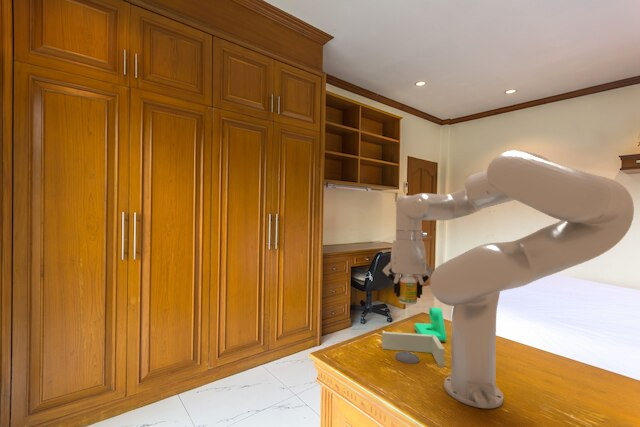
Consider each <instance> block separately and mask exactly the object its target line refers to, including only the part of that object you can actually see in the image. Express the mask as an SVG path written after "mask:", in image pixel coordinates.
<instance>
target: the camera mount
mask: <svg viewBox="0 0 640 427" xmlns="http://www.w3.org/2000/svg"><path fill="white" fill-rule="evenodd" d="M428 316H429V319H430V323H424V322H423V323H422V322H420V323H419V322H415V323H414V329H415V331H416V334H425V335H435V336H437V338H438V339H439V341H440V342H441V341H442V342H447V334H446V327H445V322H444V316H443V311H442V309H441V307H429V309H428Z"/></svg>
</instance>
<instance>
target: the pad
mask: <svg viewBox="0 0 640 427" xmlns="http://www.w3.org/2000/svg"><path fill="white" fill-rule="evenodd" d="M394 358H395V359H396V360H397V361H399V362H401V363H404V364H411V365H412V364H417V363H419V362H420V357H419V355H417V354H415V353H412V352H411V351H398V352H396V353H395V354H394Z"/></svg>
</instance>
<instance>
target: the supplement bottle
mask: <svg viewBox="0 0 640 427" xmlns="http://www.w3.org/2000/svg"><path fill="white" fill-rule="evenodd" d="M415 276H416V275H412V274H401V275H400V277H399V280H398V281H399V297H397V298H398V302H399V304H403V305H409V306H410V305H413V306H414V305H416V304H418V298H417V281H418V280H417V277H415Z"/></svg>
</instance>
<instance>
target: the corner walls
mask: <svg viewBox="0 0 640 427" xmlns="http://www.w3.org/2000/svg"><path fill="white" fill-rule="evenodd" d="M381 349H382V350H393V351H394V350H395V351H402V352H415V353H416V352H417V353H429V354H430V353H431V355H433V358H434V359H435V361H436V364H437V365H438V367H443V368H444V367H445V365H446V364H445V362H446V361H445V360H446V359H445V351H446V350H445V347H444V346H443V344H442V343H441V340H439V339H438V338H437V336H435V335H425V334H417V333H411V332H410V333H408V332H394V331H383V330H382V333H381Z"/></svg>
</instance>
